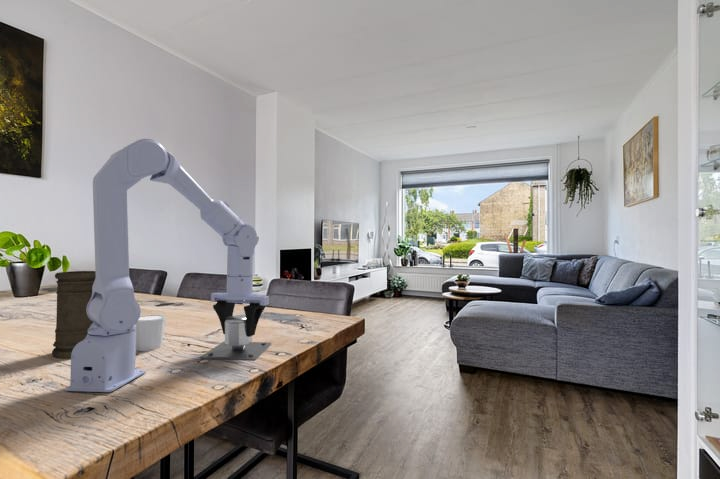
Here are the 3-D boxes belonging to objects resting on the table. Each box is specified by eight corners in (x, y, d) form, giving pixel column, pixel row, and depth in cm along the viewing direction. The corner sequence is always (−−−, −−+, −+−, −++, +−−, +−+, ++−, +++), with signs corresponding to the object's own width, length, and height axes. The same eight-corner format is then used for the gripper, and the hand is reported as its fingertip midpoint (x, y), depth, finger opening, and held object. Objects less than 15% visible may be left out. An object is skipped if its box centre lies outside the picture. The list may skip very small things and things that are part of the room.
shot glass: (125, 348, 83) (125, 318, 83) (153, 341, 89) (154, 313, 89) (142, 353, 80) (143, 322, 80) (171, 345, 86) (172, 316, 86)
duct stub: (255, 359, 76) (255, 344, 76) (200, 358, 77) (201, 342, 77) (271, 344, 88) (271, 330, 88) (223, 342, 89) (224, 329, 89)
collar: (245, 346, 80) (245, 321, 80) (221, 345, 80) (221, 320, 80) (255, 338, 86) (255, 315, 86) (232, 337, 86) (232, 314, 86)
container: (74, 360, 75) (76, 274, 75) (40, 356, 76) (42, 272, 77) (112, 347, 83) (114, 271, 84) (80, 345, 85) (82, 269, 85)
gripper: (276, 275, 85) (275, 332, 84) (224, 273, 89) (223, 327, 89) (259, 278, 78) (258, 340, 78) (204, 275, 82) (203, 334, 82)
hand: (238, 334), depth 83 cm, fingers closed on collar, 6 cm apart
